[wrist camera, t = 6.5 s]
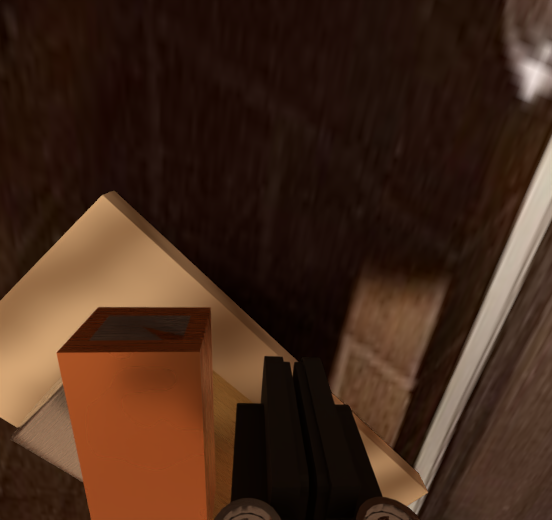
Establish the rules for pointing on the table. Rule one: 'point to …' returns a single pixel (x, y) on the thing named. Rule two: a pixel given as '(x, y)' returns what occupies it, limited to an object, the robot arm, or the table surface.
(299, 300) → the table surface
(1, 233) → the table surface
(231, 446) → the valve body
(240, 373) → the mounting board
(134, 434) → the valve lever
